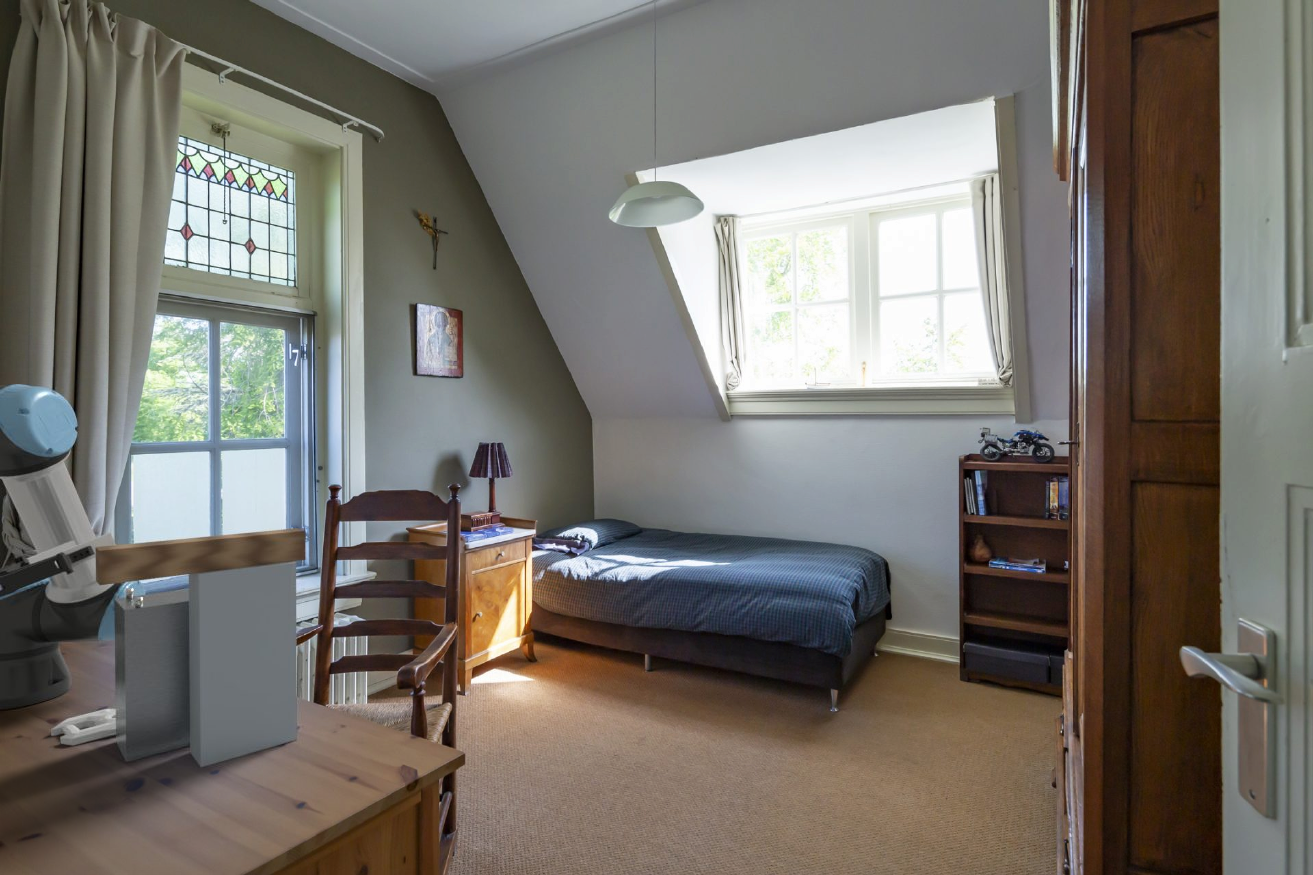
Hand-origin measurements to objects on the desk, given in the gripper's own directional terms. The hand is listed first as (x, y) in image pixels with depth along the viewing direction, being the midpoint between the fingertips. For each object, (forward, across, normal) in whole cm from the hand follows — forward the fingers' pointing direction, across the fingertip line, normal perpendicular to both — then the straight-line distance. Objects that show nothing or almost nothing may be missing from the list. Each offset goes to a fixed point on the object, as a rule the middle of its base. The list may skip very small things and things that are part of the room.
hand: (94, 544), depth 115 cm
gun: (-4, -14, -33) cm, 36 cm away
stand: (+2, +12, -39) cm, 41 cm away
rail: (+6, +16, -9) cm, 19 cm away
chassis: (-1, -1, -36) cm, 36 cm away
